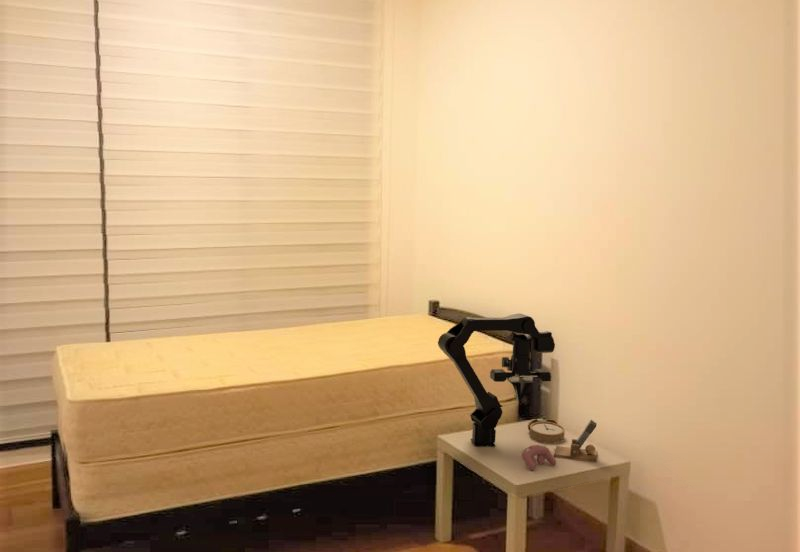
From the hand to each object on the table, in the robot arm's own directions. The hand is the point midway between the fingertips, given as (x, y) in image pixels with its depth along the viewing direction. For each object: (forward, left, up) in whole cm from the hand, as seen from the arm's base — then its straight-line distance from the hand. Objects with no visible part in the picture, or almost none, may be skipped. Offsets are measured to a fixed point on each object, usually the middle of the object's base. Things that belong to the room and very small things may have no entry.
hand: (519, 401), depth 239 cm
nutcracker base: (+14, -14, -13) cm, 24 cm away
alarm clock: (+11, +5, -14) cm, 18 cm away
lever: (+14, -14, -11) cm, 23 cm away
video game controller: (-1, -22, -13) cm, 26 cm away
